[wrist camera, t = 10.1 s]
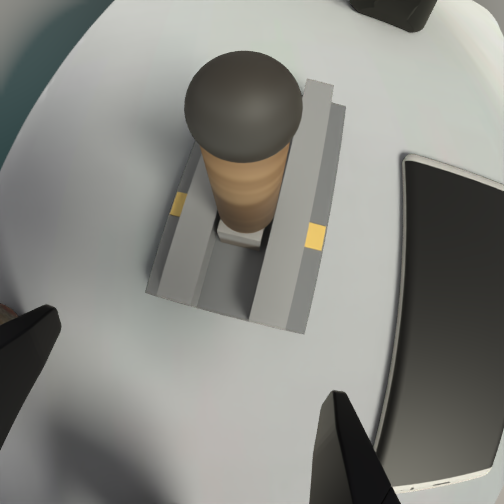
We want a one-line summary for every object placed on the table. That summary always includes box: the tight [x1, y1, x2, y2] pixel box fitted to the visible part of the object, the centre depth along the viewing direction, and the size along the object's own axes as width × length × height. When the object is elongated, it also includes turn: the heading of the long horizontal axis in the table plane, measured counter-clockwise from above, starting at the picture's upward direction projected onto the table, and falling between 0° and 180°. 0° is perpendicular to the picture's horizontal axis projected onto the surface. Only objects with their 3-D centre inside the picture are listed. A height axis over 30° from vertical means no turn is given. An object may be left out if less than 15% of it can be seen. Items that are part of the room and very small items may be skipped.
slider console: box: [145, 79, 346, 334], centre depth 21 cm, size 17×10×4 cm, turn 166°
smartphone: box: [373, 154, 504, 494], centre depth 20 cm, size 13×27×2 cm, turn 171°
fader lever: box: [184, 51, 303, 251], centre depth 14 cm, size 4×4×13 cm
